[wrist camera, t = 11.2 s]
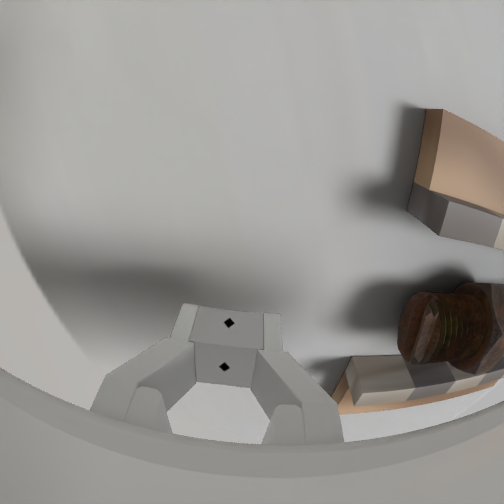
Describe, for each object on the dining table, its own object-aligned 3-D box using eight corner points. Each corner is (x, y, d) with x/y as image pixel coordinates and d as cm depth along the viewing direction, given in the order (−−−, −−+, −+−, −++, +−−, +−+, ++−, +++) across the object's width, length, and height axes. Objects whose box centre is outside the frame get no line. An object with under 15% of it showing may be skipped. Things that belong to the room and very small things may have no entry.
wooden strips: (426, 108, 8) (465, 110, 6) (572, 200, 8) (593, 213, 6) (329, 399, 15) (334, 432, 13) (488, 376, 15) (499, 396, 13)
